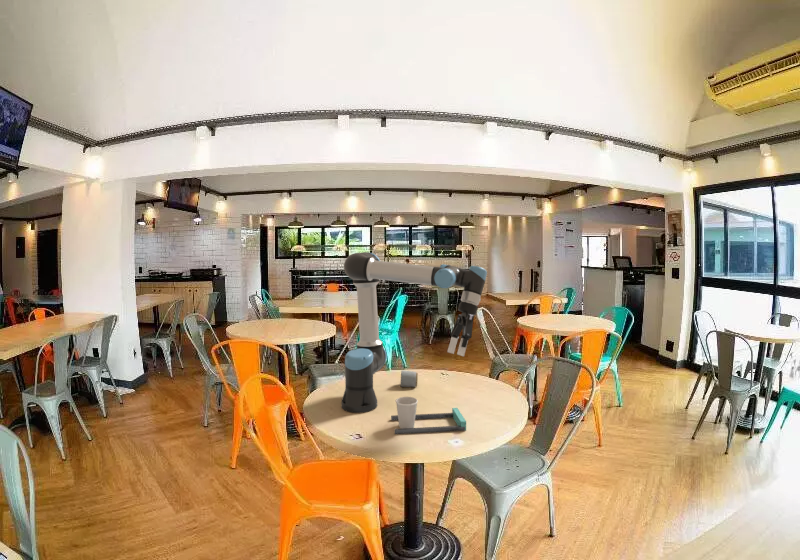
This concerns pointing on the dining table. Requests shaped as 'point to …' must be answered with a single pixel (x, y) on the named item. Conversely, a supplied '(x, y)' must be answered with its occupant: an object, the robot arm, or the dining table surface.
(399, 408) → the dixie cup
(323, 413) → the dining table surface
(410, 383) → the ceramic mug
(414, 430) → the guide rails
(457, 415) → the teal band
